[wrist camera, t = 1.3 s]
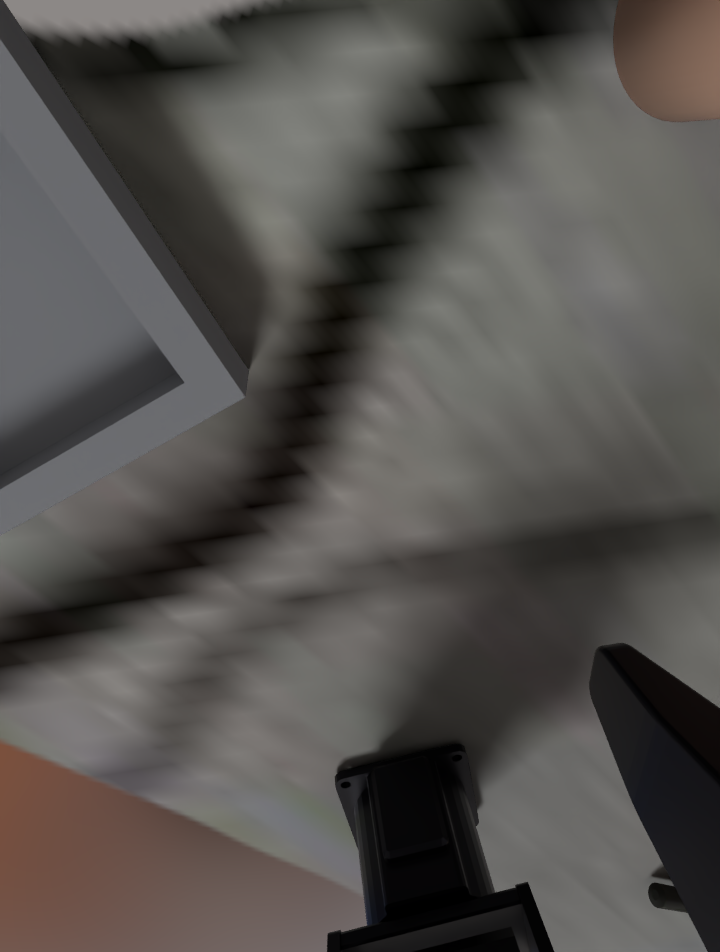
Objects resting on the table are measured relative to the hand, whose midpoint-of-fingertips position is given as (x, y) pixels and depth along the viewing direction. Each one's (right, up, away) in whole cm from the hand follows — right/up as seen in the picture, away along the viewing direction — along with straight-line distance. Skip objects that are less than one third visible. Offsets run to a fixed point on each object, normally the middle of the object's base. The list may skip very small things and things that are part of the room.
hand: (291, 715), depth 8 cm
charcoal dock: (-10, +8, +9) cm, 16 cm away
